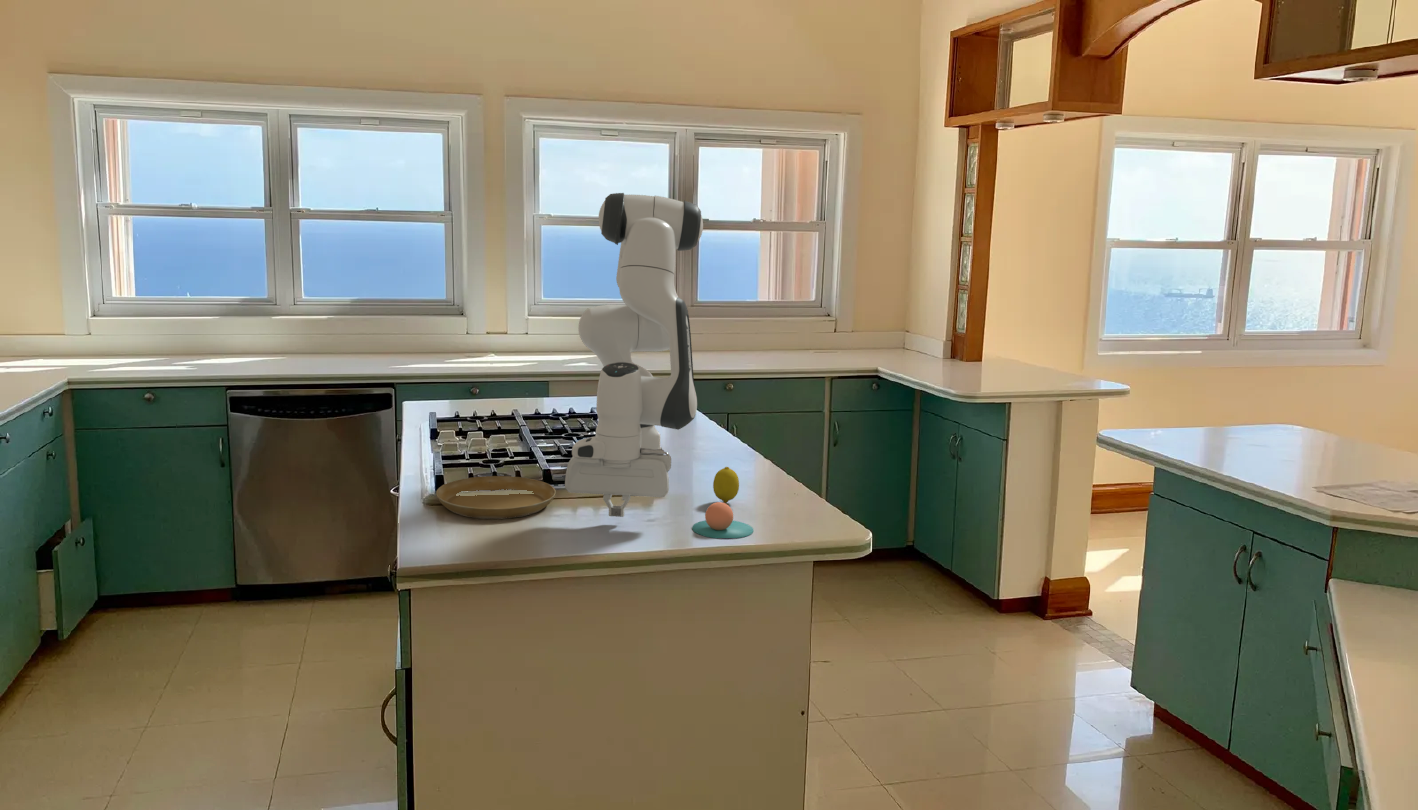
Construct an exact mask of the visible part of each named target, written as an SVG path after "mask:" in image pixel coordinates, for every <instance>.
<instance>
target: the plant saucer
mask: <svg viewBox="0 0 1418 810" xmlns="http://www.w3.org/2000/svg"><path fill="white" fill-rule="evenodd" d="M499 489H500V490H501V489H504V490H506V489H507V490H508V489H512V490H513V489H514V490H515V489H516V490H527V491H533V492H532V493H534V494H520V493H519V494H509V495H477V496H476V495H475V496H460V495H459V496H456V494H457V493H459V492H461V491H476V490H478V491H479V490H491V491H492V490H499ZM556 491H557V490H556V488H554V486H553V485H552V484H550V483H547V482H544V481H542V480H540V479H539V480H538V479H533V478H528V477H521V476H509V475H490V476H486V475H485V476H474V477H467V478H462V479H457V480H452V481H450V482H447V483H444V484H442V485H441V486H440V487H438V488H437V489H436V491H435V493H436V494H435V495H436V497H437V499H438V501H439V502H440V503H441V505H442V506H443V507H445V508H446V509H447V510H449V511H450V512H452V513H454V514H456V515H460V516H464V517H468V518H475V519H486V520H488V519H490V520H491V519H492V520H495V519H496V520H500V519H513V518H514V519H515V518H522V517H525V516H529V515H533V514H536V513H538V512H540V511H542V510H543V509H545V508H546V507H547V506H549V504H550V503H552V501H553V500H554V498H555V496H556Z"/></svg>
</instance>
